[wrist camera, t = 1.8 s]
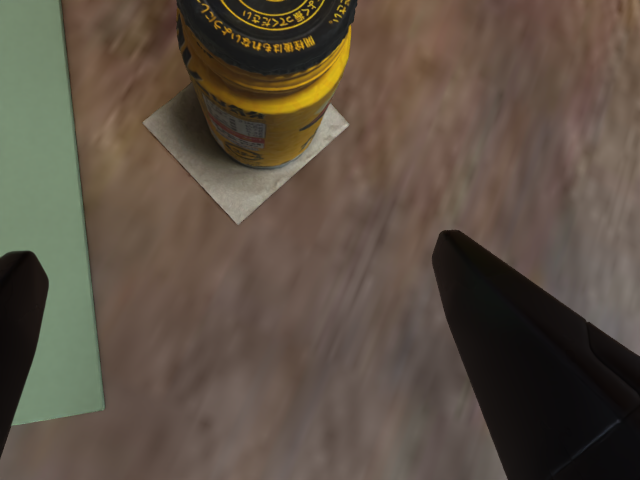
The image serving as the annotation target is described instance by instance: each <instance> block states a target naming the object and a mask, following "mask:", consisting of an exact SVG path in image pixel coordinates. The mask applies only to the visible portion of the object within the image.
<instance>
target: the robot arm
mask: <svg viewBox="0 0 640 480" xmlns="http://www.w3.org/2000/svg"><path fill="white" fill-rule="evenodd" d="M432 265H433V269H434V273H435V277H436V281H437V285H438V288H439V292H440V296H441V300H442V304H443V308H444V312H445V315H446V319H447V322H448V324H449V327H450V330H451V332H452V335H453V338H454V340H455V343H456V346H457V348H458V351H459V353H460V356H461V359H462V361H463V364H464V366H465V369H466V372H467V374H468V377H469V379H470V382H471V385H472V387H473V390H474V393H475V395H476V398H477V400H478V403H479V406H480V408H481V411H482V413H483V416H484V419H485V421H486V424H487V426H488V429H489V432H490V434H491V437H492V440H493V442H494V445H495V447H496V450H497V453H498V455H499V458H500V460H501V463H502V466H503V468H504V471H505V473H506V476H507V479H508V480H640V356H638V355H637V354H635V353H634V352H632V351H631V350H629V349H628V348H626V347H625V346H623V345H622V344H620V343H619V342H617V341H616V340H614V339H613V338H611V337H610V336H608V335H607V334H605V333H604V332H603V331H601V330H600V329H598V328H597V327H596V326H594V325H593V324H591V323H590V322H586V320H585V319H584V318H583V317H581V316H580V315H578V314H577V313H576V312H574V311H573V310H571V309H570V308H569V307H567V306H566V305H564V304H563V303H561V302H560V301H559V300H557V299H556V298H554V297H553V296H552V295H550V294H549V293H547V292H546V291H544V290H543V289H542V288H540V287H539V286H537V285H536V284H535V283H533V282H532V281H530V280H529V279H527V278H526V277H525V276H523V275H522V274H520V273H519V272H518V271H516V270H515V269H513V268H512V267H510V266H509V265H508V264H506V263H505V262H503V261H502V260H501V259H499V258H498V257H496V256H495V255H493V254H492V253H491V252H489V251H488V250H486V249H485V248H484V247H482V246H481V245H479V244H478V243H477V242H475V241H474V240H472V239H471V238H469V237H468V236H467V235H465V234H464V233H462V232H461V231H459V230H444V231H442V232H441V233H440V234H439V237H438V240H437V243H436V246H435V249H434V251H433V255H432ZM48 290H49V279H48V276H47V274H46V272H45V271H44V269H43V267H42V265H41V263H40V262H39V260H38V258H37V256H36V255H35V253H33V252H32V251H29V250H25V251H11V252H8V253H6V254H4V255H3V256H1V257H0V458H1V455H2V452H3V449H4V446H5V443H6V440H7V437H8V434H9V431H10V428H11V425H12V422H13V419H14V416H15V413H16V410H17V407H18V404H19V401H20V398H21V395H22V392H23V389H24V386H25V383H26V380H27V377H28V374H29V371H30V368H31V365H32V362H33V359H34V356H35V352H36V348H37V344H38V340H39V335H40V330H41V325H42V320H43V315H44V310H45V305H46V300H47V295H48Z"/></svg>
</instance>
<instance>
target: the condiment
mask: <svg viewBox="0 0 640 480" xmlns="http://www.w3.org/2000/svg"><path fill="white" fill-rule="evenodd" d="M356 6H357V0H177V7H178V8H177V17H176V22H177V27H176V29H177V38H178V42H179V49H180V51H181V54H182V57H183V60H184V63H185V66H186V68H187V71H188V73H189V76H190V78H191V81H192V82H191V83H190V84H189V85H188V86H187V87H186V88H185V89H184V90H182V91H181V92H179V93H178V94H177V95H176V96H175V97H174V98H173V99H171V100H170V101H169V102H168V103H166V104H165V105H163V106H162V107H161V108H159V109H158V110H157V111H155V112H154V113H153V114H152V115H151V116H150V117H148V118H147V119H146V120H145V121H144V122H142V123H143V124H144V125H145V126H146V127H147V128H148V129H149V130H150V131H151V132H152V133H153V134H154V136H155V137H156V138H157V139H158V140H159V141H160V142H161V143H162V144H163V145H164V146H165V147H166V149H167V150H168V151H169V152H170V153H171V154H172V155H173V156H174V157H175V158H176V159H177V161H179V162H180V164H181V165H182V166H183V167H184V168H185V169H186V170H187V171H188V172H189V173H190V174H191V175H192V176H193V177H194V179H195V180H196V181H197V182H198V183H199V184H200V185H201V186H202V187H203V188H204V189H205V190H206V191H207V192H208V193H209V194H210V196H211V197H212V198H213V199H214V200H215V201H216V202H217V203H218V204H219V205H220V206H221V207H222V208H223V209H224V211H225V212H226V213H227V214H228V215H229V216H230V217H231V218H232V219H233V220H234V221H235V222H236V223H237V224H239V223H241V222H242V221H243V220H244V219H245V218H246V217H247V216H248V215H249V214H251V213H252V212H253V211H254V210H255V209H256V208H257V207H258V206H260V205H261V204H262V203H263V202H264V201H265V200H266V199H267V198H268V197H269V196H270V195H272V194H273V193H274V192H275V191H276V190H277V189H278V188H280V187H281V186H282V185H283V184H284V183H285V182H286V181H287V180H289V179H290V178H291V177H292V176H293V175H294V174H295V173H296V172H298V171H299V170H300V169H301V168H302V167H303V166H304V165H305V164H307V163H308V162H309V161H310V160H311V159H312V158H313V157H314V156H315V155H317V154H318V153H319V152H320V151H321V150H322V149H323V148H324V147H326V146H327V145H328V144H329V143H330V142H331V141H332V140H333V139H334V138H336V137H337V136H338V135H339V134H340V133H341V132H342V131H343V130H344V129H345V128H347V127H348V126H349V125H350V124H349V123H348V122H347V121H346V120H345V119H344V118H343V117H342V116H341V114H340V113H339V112H338V111H337V110H336V109H335V108H334V107H333V106H332V105H331V103H330V101H331V98H332V96H333V95H334V93H335V91H336V89H337V87H338V84H339V81H340V80H341V78H342V76H343V72H344V69H345V66H346V64H347V61H348V57H349V52H350V39H351V25H350V24H351V23H353V21H354V15H355V8H356Z"/></svg>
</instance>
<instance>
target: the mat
mask: <svg viewBox="0 0 640 480" xmlns="http://www.w3.org/2000/svg"><path fill="white" fill-rule="evenodd" d="M25 250H29V251H32V252H33V253H35V255H36V256H37V258H38V260H39V262H40V263H41V265H42V267H43V269H44V271H45V272H46V274H47V276H48V279H49V290H48V295H47V300H46V305H45V310H44V315H43V320H42V325H41V330H40V335H39V340H38V344H37V348H36V352H35V356H34V359H33V362H32V365H31V368H30V371H29V374H28V377H27V380H26V383H25V386H24V389H23V392H22V395H21V398H20V401H19V404H18V407H17V410H16V413H15V416H14V419H13V422H12V425H11V426H13V425H19V424H24V423H30V422H36V421H42V420H48V419H54V418H60V417H66V416H72V415H78V414H84V413H90V412H96V411H102V410H104V409H105V404H104V394H103V385H102V376H101V367H100V357H99V348H98V339H97V330H96V320H95V311H94V302H93V293H92V283H91V274H90V265H89V256H88V246H87V237H86V228H85V219H84V209H83V200H82V191H81V182H80V172H79V163H78V154H77V145H76V135H75V126H74V117H73V108H72V98H71V89H70V80H69V71H68V61H67V52H66V43H65V34H64V24H63V15H62V6H61V0H0V257H1V256H3V255H4V254H6V253H8V252H11V251H25Z"/></svg>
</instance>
